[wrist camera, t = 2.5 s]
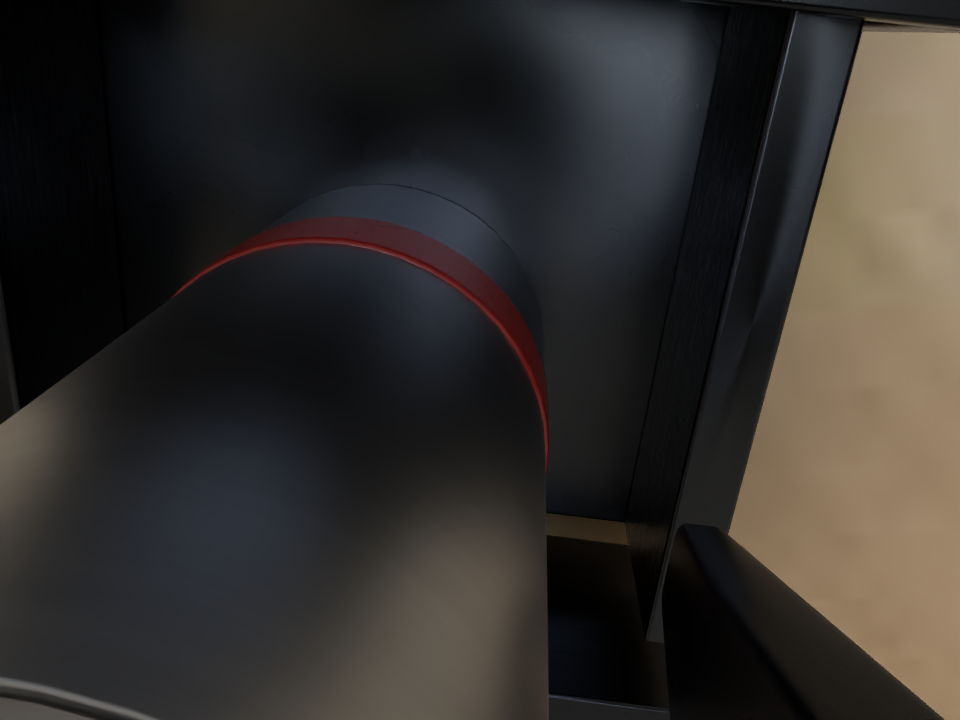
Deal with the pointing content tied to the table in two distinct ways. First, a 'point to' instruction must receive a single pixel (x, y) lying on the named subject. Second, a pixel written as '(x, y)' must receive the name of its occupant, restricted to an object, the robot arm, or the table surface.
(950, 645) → the table surface
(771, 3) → the cabinet
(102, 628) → the grey metal cylinder
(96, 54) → the drawer
